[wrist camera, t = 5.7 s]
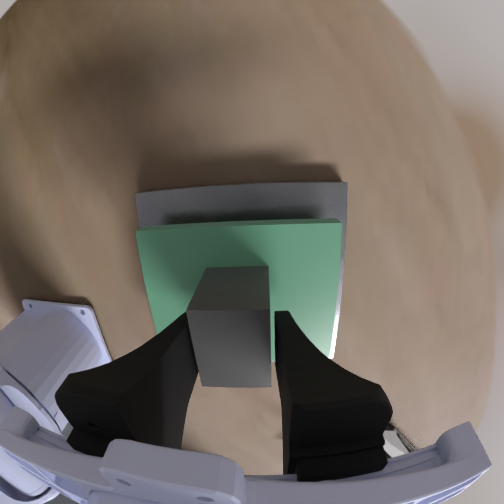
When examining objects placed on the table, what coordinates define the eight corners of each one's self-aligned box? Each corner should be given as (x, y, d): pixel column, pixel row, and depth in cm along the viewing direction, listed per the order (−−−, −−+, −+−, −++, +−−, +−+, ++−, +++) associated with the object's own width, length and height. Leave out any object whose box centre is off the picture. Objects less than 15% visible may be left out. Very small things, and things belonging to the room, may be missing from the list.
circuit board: (168, 348, 16) (143, 405, 12) (142, 226, 14) (93, 260, 9) (326, 346, 16) (343, 407, 11) (336, 218, 13) (373, 251, 9)
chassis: (171, 351, 20) (162, 372, 17) (141, 191, 16) (123, 197, 13) (330, 349, 19) (337, 371, 17) (342, 181, 15) (355, 185, 13)
